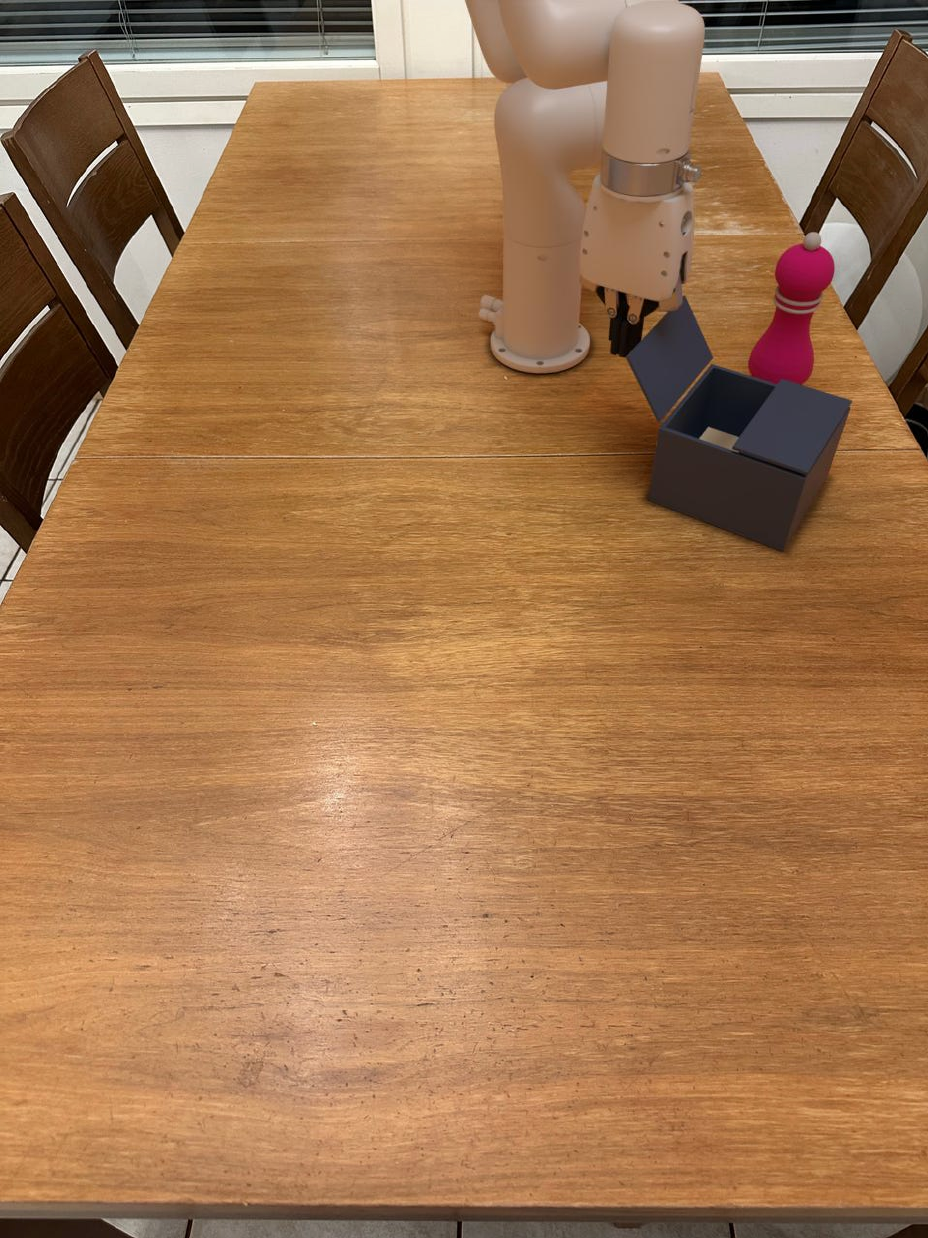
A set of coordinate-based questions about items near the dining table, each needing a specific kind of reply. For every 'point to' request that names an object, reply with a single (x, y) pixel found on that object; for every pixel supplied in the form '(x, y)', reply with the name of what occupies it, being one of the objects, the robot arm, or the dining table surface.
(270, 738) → the dining table surface
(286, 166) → the dining table surface
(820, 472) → the carton
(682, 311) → the flap
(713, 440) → the block
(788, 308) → the pepper mill
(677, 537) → the dining table surface
